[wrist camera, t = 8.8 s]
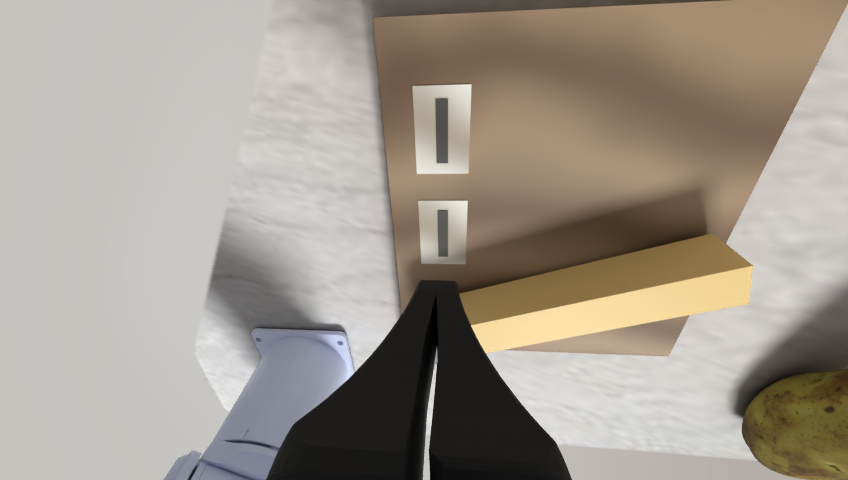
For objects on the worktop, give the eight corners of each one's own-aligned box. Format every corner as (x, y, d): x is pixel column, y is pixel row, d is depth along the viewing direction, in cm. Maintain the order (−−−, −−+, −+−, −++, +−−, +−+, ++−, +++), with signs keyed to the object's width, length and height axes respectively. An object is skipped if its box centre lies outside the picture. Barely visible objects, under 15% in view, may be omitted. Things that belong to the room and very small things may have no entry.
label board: (657, 340, 25) (669, 357, 24) (407, 331, 27) (404, 347, 26) (817, -3, 14) (854, -6, 13) (379, 18, 16) (372, 17, 15)
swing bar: (429, 332, 24) (426, 368, 22) (413, 300, 23) (407, 334, 20) (710, 273, 20) (747, 308, 17) (712, 228, 18) (753, 260, 16)
